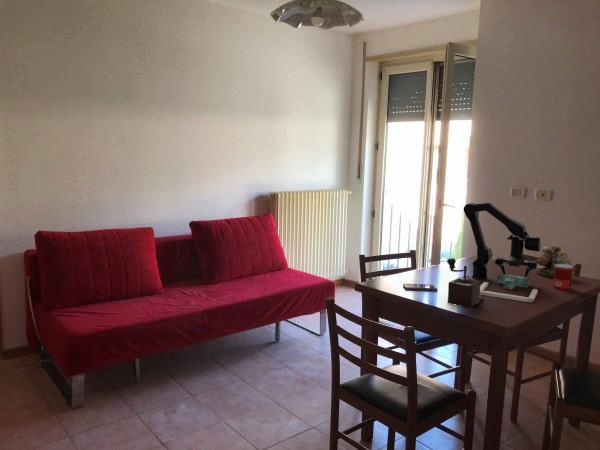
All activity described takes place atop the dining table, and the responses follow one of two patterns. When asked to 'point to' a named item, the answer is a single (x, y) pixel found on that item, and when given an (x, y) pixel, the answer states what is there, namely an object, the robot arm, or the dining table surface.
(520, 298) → the outline
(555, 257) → the khaki lumpy piece
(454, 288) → the manual coffee grinder
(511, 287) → the T block
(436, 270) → the dining table surface
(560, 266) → the red tapered cylinder
